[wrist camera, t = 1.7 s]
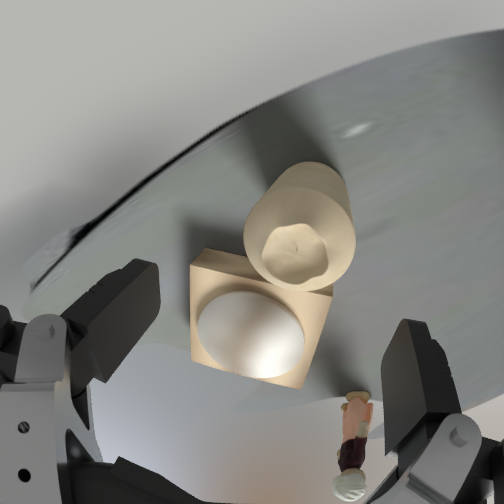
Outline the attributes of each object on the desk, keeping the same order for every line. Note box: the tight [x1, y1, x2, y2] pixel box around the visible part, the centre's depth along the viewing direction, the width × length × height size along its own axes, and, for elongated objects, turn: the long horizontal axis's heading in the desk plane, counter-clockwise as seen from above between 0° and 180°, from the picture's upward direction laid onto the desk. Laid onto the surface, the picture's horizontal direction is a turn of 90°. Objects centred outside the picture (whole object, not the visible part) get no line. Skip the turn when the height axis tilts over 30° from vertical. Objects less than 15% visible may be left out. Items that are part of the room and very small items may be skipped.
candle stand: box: [190, 248, 333, 389], centre depth 26 cm, size 11×11×4 cm
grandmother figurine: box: [331, 391, 373, 501], centre depth 24 cm, size 8×4×13 cm, turn 6°
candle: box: [243, 161, 356, 292], centre depth 18 cm, size 6×6×10 cm
